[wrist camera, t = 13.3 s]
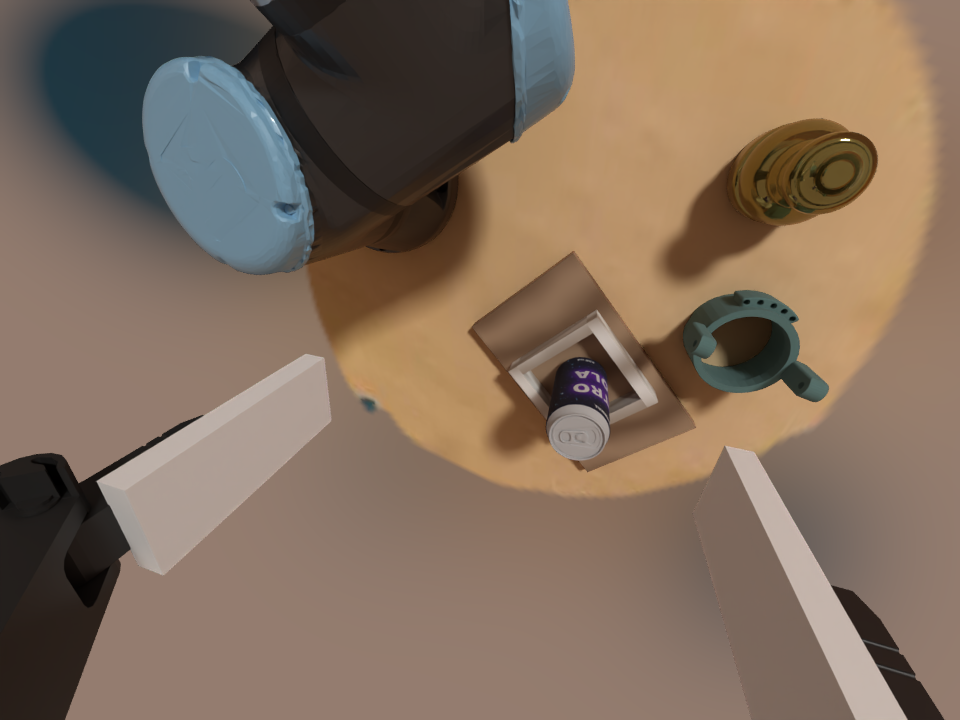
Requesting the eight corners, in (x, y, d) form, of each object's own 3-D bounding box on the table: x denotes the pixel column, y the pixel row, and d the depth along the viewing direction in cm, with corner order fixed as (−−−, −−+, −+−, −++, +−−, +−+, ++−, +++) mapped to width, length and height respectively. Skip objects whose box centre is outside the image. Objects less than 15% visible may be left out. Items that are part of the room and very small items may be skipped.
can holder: (475, 322, 46) (465, 334, 43) (573, 250, 40) (571, 257, 36) (587, 464, 51) (587, 485, 47) (693, 420, 44) (701, 441, 41)
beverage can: (607, 398, 44) (610, 466, 34) (557, 397, 46) (546, 462, 35) (606, 353, 42) (611, 411, 31) (554, 354, 44) (541, 409, 33)
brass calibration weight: (845, 180, 32) (938, 181, 23) (750, 238, 35) (800, 258, 27) (802, 102, 31) (884, 73, 22) (708, 170, 34) (747, 168, 25)
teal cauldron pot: (785, 358, 39) (833, 403, 31) (685, 377, 42) (706, 422, 34) (774, 274, 36) (824, 300, 28) (669, 302, 40) (687, 332, 32)
